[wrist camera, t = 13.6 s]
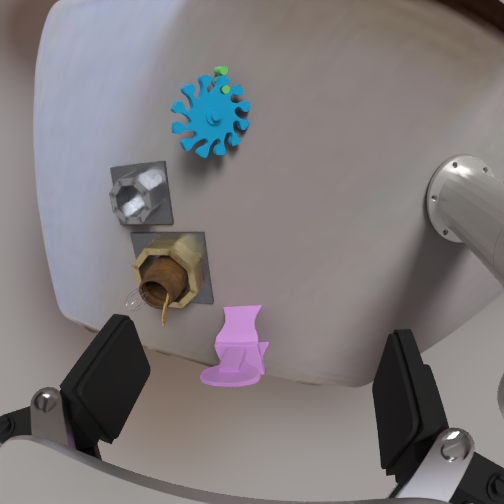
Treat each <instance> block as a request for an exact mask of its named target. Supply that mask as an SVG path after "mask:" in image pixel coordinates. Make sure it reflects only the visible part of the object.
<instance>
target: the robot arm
mask: <svg viewBox="0 0 504 504" xmlns="http://www.w3.org/2000/svg"><path fill="white" fill-rule="evenodd" d="M452 164H453V165H452ZM432 196H433V197H432ZM427 212H428V216H429V219H430V222H431V223H432V225H433V227H434V228H435V230H436V231H437V232H438V233H439V234H440V235H441V236H442V237H443V238H445V239H447V240H449V241H452V242H459V243H462V242H463V243H464V244H465V245H466V246H467V247H468V248H469V249H470V250H471V251H472V252H473V253H474V254H475V255H476V257H477V258H478V259H479V260H480V261H481V262H482V263H483V264H484V265H485V266H486V268H487V269H488V270H489V271H490V272H491V273H492V274H493V275H494V277H495V278H496V279H497V280H498V281H499V282H500V283H501V285H502V286H503V287H504V183H503V182H501V181H499V180H497V179H495V176H494V174H493V172H492V171H491V169H490V168H489V167H488V166H487V165H486V164H485V163H484V162H483V161H481V160H480V159H478V158H476V157H473V156H468V155H458V156H455V157H452V158H450V159H449V160H447V161H445V162H444V163H443V164H442V165H441V166H440V167H439V168H438V170H437V171H436V172H435V174H434V176H433V177H432V179H431V182H430V185H429V188H428V192H427ZM149 375H150V365H149V363H148V360H147V358H146V355H145V353H144V350H143V347H142V345H141V342H140V339H139V336H138V334H137V331H136V328H135V325H134V322H133V321H132V320H130V317H129V316H126V315H119V314H114V315H112V317H111V318H110V319H109V320H108V322H107V323H106V324H105V325H104V327H103V328H102V329H101V331H100V332H99V333H98V334H97V336H96V337H95V338H94V340H93V341H92V342H91V344H90V345H89V346H88V348H87V349H86V350H85V352H84V353H83V354H82V356H81V357H80V358H79V360H78V361H77V362H76V364H75V365H74V367H73V368H72V369H71V371H70V372H69V374H68V375H67V376H66V378H65V379H64V380H63V382H62V384H61V385H60V388H61V390H60V391H58V390H57V389H55V388H53V387H46V388H42V389H40V390H39V391H37V392H36V393H35V394H34V396H33V397H32V400H31V404H30V406H29V407H26V408H23V409H20V410H17V411H14V412H11V413H8V414H4V415H3V416H0V504H504V468H503V467H501V466H499V465H497V464H495V463H494V462H492V461H490V460H488V459H487V458H485V457H483V456H481V455H480V454H478V453H476V452H475V451H474V450H475V447H474V441H473V438H472V437H471V435H470V434H469V433H468V432H467V431H465V430H463V429H461V428H449V426H448V422H447V418H446V415H445V411H444V408H443V404H442V401H441V398H440V395H439V391H438V388H437V386H436V382H435V379H434V376H433V373H432V370H431V368H430V366H429V365H427V364H423V361H422V358H421V355H420V352H419V350H418V347H417V344H416V341H415V339H414V336H413V333H412V331H411V330H410V329H402V330H394V332H393V334H389V335H388V338H387V342H386V345H385V348H384V352H383V355H382V358H381V361H380V364H379V367H378V370H377V373H376V376H375V379H374V382H373V387H372V392H373V399H374V406H375V413H376V421H377V430H378V439H379V449H380V459H381V467H382V469H386V475H387V476H388V475H395V479H396V482H397V485H396V486H395V487H394V488H393V490H392V491H391V492H390V494H389V495H388V496H387V498H385V499H372V500H360V501H341V502H340V501H339V502H297V501H294V502H293V501H277V500H264V499H254V498H246V497H238V496H231V495H225V494H218V493H213V492H208V491H203V490H198V489H193V488H188V487H184V486H180V485H176V484H172V483H168V482H165V481H161V480H158V479H154V478H151V477H147V476H144V475H141V474H138V473H135V472H132V471H129V470H126V469H123V468H120V467H117V466H115V465H112V464H110V463H107V462H104V461H102V458H101V455H100V452H99V448H98V445H97V443H98V441H99V439H100V440H102V441H104V442H107V443H110V444H112V442H113V440H114V439H116V438H117V437H118V436H119V434H120V432H121V430H122V428H123V426H124V424H125V422H126V420H127V418H128V416H129V414H130V412H131V410H132V408H133V406H134V404H135V402H136V400H137V398H138V396H139V394H140V393H141V391H142V389H143V387H144V385H145V383H146V381H147V379H148V377H149ZM497 399H498V405H499V409H500V412H501V413H502V416H503V418H504V374H503V376H502V378H501V380H500V383H499V387H498V395H497Z"/></svg>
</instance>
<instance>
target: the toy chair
mask: <svg viewBox="0 0 504 504" xmlns="http://www.w3.org/2000/svg"><path fill="white" fill-rule="evenodd" d="M261 308H262V305H254V306H237V307H223V309H224V313H225V324H224V326H223V328H222V330H221V331H220V332H219V334H218V335H217V337H216V343H215V345H214V347H215V349H216V352H217V355H218V357H219V359H220V364H219V365H217V366H214V367H210V368H207V369H204V370H203V371H202V373H201V374H200V381H201V382H202V383H204V384H206V385H210V386H215V387H241V386H247V385H252V384H254V383H256V382H258V381H259V380H260V377H261V376H260V374H264V373H265V370H266V368H265V365H264V363H263V356H264V353H265V351H266V349H267V347H268V346H269V344H270V343H269V342H259V341H258V335H257V332H256V330H255V319H256V317H257V315H258V313H259V311H260V310H261Z"/></svg>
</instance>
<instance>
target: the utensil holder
mask: <svg viewBox="0 0 504 504" xmlns="http://www.w3.org/2000/svg"><path fill="white" fill-rule="evenodd" d="M188 280H189V279H188V273H187V270H186V269H184V268H183V267H182V266H181V265H180V264H179V263H177V262H176V261H175V260H174V259H173V258H172V257H170V256H169V255H161V256H160V257H158V258H157V259H156V260H155V261H154V263H153V264H152V265H151V266H150V267H149V269H148V270H147V271H146V273H145V275H144V278H143V279H142V281H141V283H140V286H139V288H138V289H139V290H138V292H140V295H141V297H142V299H143V300H144V302H146V303H147V304H148V305H150V306H151V307H154V308H157V309H163V312H162V323H163V325H162V326H163V327H164V323H165V319H166V315H167V307H168V306H169V305H170V304H171V303H172V302H173V301H174V300H175V299H176V298H177V297H178V296H179V295H180V294H181V292H182V291H183V289H184V287H185V286H186V284H187V282H188ZM136 290H137V289H136ZM134 291H135V290H134ZM131 293H132V292H131ZM131 293H130V294H131ZM136 293H137V292H136ZM130 294H129V295H130ZM134 294H135V293H134ZM134 294H133V295H134ZM129 295H128V296H129ZM133 295H132V296H133ZM128 296H127V297H128ZM132 296H130V297H132ZM130 297H129V298H130ZM129 298H128V299H129ZM126 299H127V298H126ZM128 299H127V300H128ZM138 299H139V297H138V298H137V299H136V301H137V300H138ZM127 300H126V301H127ZM129 300H130V299H129ZM142 302H143V301H142ZM142 302H141V303H142ZM144 302H143V303H144ZM125 303H126V302H125ZM128 303H129V302H128ZM126 304H127V303H126ZM126 304H125V305H126ZM131 305H132V303H131V304H130V305H129V306H131ZM129 306H127V308H128V309H130V307H129ZM139 306H140V305H139ZM139 306H137V307H139ZM137 307H135V309H136V308H137ZM139 309H140V308H139ZM139 309H138V310H139ZM130 311H137V310H130Z"/></svg>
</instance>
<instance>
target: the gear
mask: <svg viewBox="0 0 504 504" xmlns="http://www.w3.org/2000/svg"><path fill="white" fill-rule="evenodd" d="M227 72H228V69H227V67H225V66H221V67H216V68H215V69H214V73H215V74H213V75H212V76H208V75H204V76H199V77H198V82H199V84H200V92H199V96H198V97H197V98H194V91H195V86H194V85H193V84H188V85H185V86H184V87H182V88H181V92H182V93H183V94H184V95H185V96H186V97H187V98H188V100H189V103H190V109H189V110H188V111H186V110H185V107H184V104H183V103H182V102H181V101H176V102H174V104H173V105H172V107H171V111H172V112H174V113H181V114H183V115H184V116H186V117H187V118H188V120H189V123H188V124H187V125H186V126H184V125H183V124H182V123H180V122H173V123H172V133H175V134H180V133H181V132H183V131H186V130H192V131H193V132H194V137H193V138H192V139H187V138H184V139H182V140H181V141H180V144H181V146H182V148H183V149H184V150H186V151H188V150H190V149H191V148H192V147H193V145H194V144H195V143H196V142H197V141H199V140H201V139H204V140H205V143H204V145H203V146H200V147H198V148H197V149H196V151H195V153H196V154H197V155H199V156H201V157H204V158H206V157H207V156H208V154H209V148H210V146H211V144H212V143H213V142H214V140H216V139H217V141H218V143H217V145H216V146H215V147H214V148H213V153H214V154H216V155H224V154H225V153H226V149H225V146H224V139H225V135H226V133H229V137H228V143H229V144H230V145H232V146H235V145H237V144H238V143H239V142H240V138H239V137H238V136H237V135H236V134H235V132H234V129H233V123H234V121H236V124H237V127H238V128H239V129H241V130H245V129H246V128H247V126H248V124H249V122H248V121H247V120H244V119H240V118H239V117H238V116H237V115H236V114H235V109H236V108H238V109H239V110H240V111H244V112H247V111H248V110H249V102H247V101H241V102H239V103H233V102H231V100H230V97H231V95H242V94H243V90H242V87H241V86H240V85H233V86H232V87H231V89H230V87H229V86H228V85H227V84H229V82H230V80H229V78H228V77H226V76H224V75H225V74H227Z"/></svg>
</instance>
